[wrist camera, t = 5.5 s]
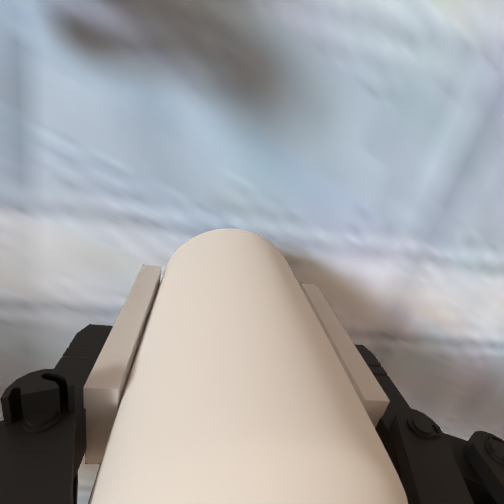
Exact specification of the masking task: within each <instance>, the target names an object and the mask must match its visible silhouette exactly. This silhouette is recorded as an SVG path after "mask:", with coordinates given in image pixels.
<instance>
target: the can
mask: <svg viewBox="0 0 504 504" xmlns="http://www.w3.org/2000/svg"><path fill="white" fill-rule="evenodd" d="M88 504H408V501H407V496H406V493H405V491H404V488H403V486H402V483H401V481H400V479H399V476H398V474H397V472H396V470H395V468H394V466H393V464H392V462H391V459H390V457H389V455H388V453H387V451H386V449H385V447H384V445H383V443H382V441H381V439H380V437H379V436H378V434H377V432H376V430H375V428H374V426H373V424H372V422H371V420H370V418H369V416H368V414H367V412H366V410H365V408H364V406H363V405H362V403H361V401H360V399H359V397H358V395H357V393H356V391H355V389H354V387H353V385H352V384H351V382H350V380H349V378H348V376H347V374H346V372H345V370H344V368H343V366H342V364H341V363H340V361H339V359H338V357H337V355H336V353H335V351H334V349H333V347H332V345H331V344H330V342H329V340H328V338H327V336H326V334H325V332H324V330H323V328H322V326H321V325H320V323H319V321H318V319H317V317H316V315H315V313H314V311H313V309H312V308H311V306H310V304H309V302H308V300H307V298H306V296H305V294H304V293H303V291H302V289H301V287H300V285H299V283H298V281H297V279H296V278H295V276H294V274H293V272H292V270H291V268H290V267H289V265H288V263H287V261H286V260H285V258H284V256H283V255H282V254H281V252H280V251H279V250H278V249H277V248H276V247H275V246H274V245H273V244H272V243H271V242H269V241H268V240H267V239H265V238H263V237H262V236H260V235H258V234H255V233H252V232H249V231H246V230H241V229H217V230H212V231H208V232H205V233H202V234H200V235H197V236H195V237H194V238H192V239H190V240H189V241H187V242H186V243H184V244H183V245H182V246H180V247H179V248H178V249H177V250H176V251H175V253H174V254H173V255H172V257H171V258H170V260H169V262H168V264H167V266H166V269H165V271H164V274H163V277H162V280H161V283H160V285H159V288H158V291H157V294H156V297H155V300H154V303H153V306H152V309H151V312H150V315H149V318H148V321H147V324H146V327H145V330H144V333H143V336H142V339H141V342H140V345H139V348H138V351H137V354H136V357H135V360H134V363H133V366H132V369H131V372H130V375H129V378H128V381H127V384H126V387H125V390H124V393H123V396H122V400H121V403H120V406H119V409H118V412H117V415H116V418H115V421H114V424H113V427H112V430H111V433H110V436H109V439H108V442H107V445H106V449H105V452H104V455H103V458H102V461H101V464H100V467H99V470H98V473H97V477H96V480H95V483H94V486H93V489H92V492H91V496H90V499H89V502H88Z"/></svg>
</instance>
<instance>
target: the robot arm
mask: <svg viewBox="0 0 504 504" xmlns="http://www.w3.org/2000/svg"><path fill="white" fill-rule="evenodd" d="M160 276H161V267H159V266H150V265H143V266H142V268H141V270H140V272H139V274H138V276H137V279H136V281H135V283H134V285H133V287H132V289H131V291H130V293H129V295H128V297H127V299H126V301H125V303H124V305H123V307H122V309H121V311H120V313H119V315H118V318H117V320H116V322H115V324H114V326H105V325H92V324H89V325H88V326H87V327H85V328H84V329H82V330H81V331H80V332H78V333H77V334H76V336H75V337H74V339H73V340H72V342H71V343H70V345H69V348H67V350H66V351H65V353H64V354H63V357H62V358H61V359H60V361H59V362H58V364H57V365H56V367H55V368H54V369H43V370H39V371H35V372H32V373H29V374H27V375H25V376H23V377H21V378H19V379H17V380H16V381H15V382H13V383H12V384H11V385H10V386H9V387H8V388H6V390H5V392H4V393H3V395H2V397H1V405H2V411H3V417H4V420H3V421H0V504H77V491H78V469H79V466H80V464H81V461H82V458H83V456H84V453H85V464H101V461H102V458H103V455H104V452H105V449H106V445H107V442H108V439H109V436H110V433H111V430H112V427H113V424H114V421H115V418H116V415H117V412H118V409H119V406H120V403H121V400H122V396H123V393H124V390H125V387H126V384H127V381H128V378H129V375H130V372H131V369H132V366H133V363H134V360H135V357H136V354H137V351H138V348H139V345H140V342H141V339H142V336H143V333H144V330H145V327H146V324H147V321H148V318H149V315H150V312H151V309H152V306H153V303H154V300H155V297H156V294H157V291H158V288H159V285H160ZM301 289H302V291H303V293H304V294H305V296H306V298H307V300H308V302H309V304H310V306H311V308H312V309H313V311H314V313H315V315H316V317H317V319H318V321H319V323H320V325H321V326H322V328H323V330H324V332H325V334H326V336H327V338H328V340H329V342H330V344H331V345H332V347H333V349H334V351H335V353H336V355H337V357H338V359H339V361H340V363H341V364H342V366H343V368H344V370H345V372H346V374H347V376H348V378H349V380H350V382H351V384H352V385H353V387H354V389H355V391H356V393H357V395H358V397H359V399H360V401H361V403H362V405H363V406H364V408H365V410H366V412H367V414H368V416H369V418H370V420H371V422H372V424H373V426H374V428H375V430H376V432H377V434H378V436H379V437H380V439H381V441H382V443H383V445H384V447H385V449H386V451H387V453H388V455H389V457H390V459H391V462H392V464H393V466H394V468H395V470H396V472H397V474H398V476H399V479H400V481H401V483H402V486H403V488H404V491H405V493H406V496H407V501H408V504H504V441H503V440H502V439H500V438H498V437H496V436H495V435H493V434H491V433H487V432H484V431H476V432H474V434H473V435H472V436H471V438H470V439H469V441H466V440H463V439H460V438H457V437H454V436H451V435H448V434H445V433H443V432H442V431H441V429H440V427H439V426H438V425H437V424H436V423H435V422H434V421H433V420H432V419H431V418H429V417H428V416H426V415H425V414H423V413H421V412H419V411H417V410H415V409H411V408H410V407H409V405H408V404H407V402H406V401H405V399H404V398H403V397H402V395H401V394H400V392H399V391H398V389H397V388H396V386H395V385H394V383H393V382H392V381H391V379H390V378H389V376H387V373H386V372H385V370H384V369H383V368H382V367H381V365H380V363H379V362H378V360H377V359H376V357H375V356H374V355H373V354H372V353H371V352H370V351H369V350H368V349H366V348H365V347H364V346H363V345H354V343H353V342H352V340H351V339H350V337H349V336H348V334H347V332H346V331H345V329H344V328H343V326H342V324H341V323H340V321H339V320H338V318H337V317H336V315H335V313H334V312H333V310H332V309H331V307H330V305H329V304H328V302H327V301H326V299H325V298H324V296H323V294H322V293H321V291H320V290H319V288H318V287H317V285H312V284H304V283H302V284H301Z"/></svg>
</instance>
